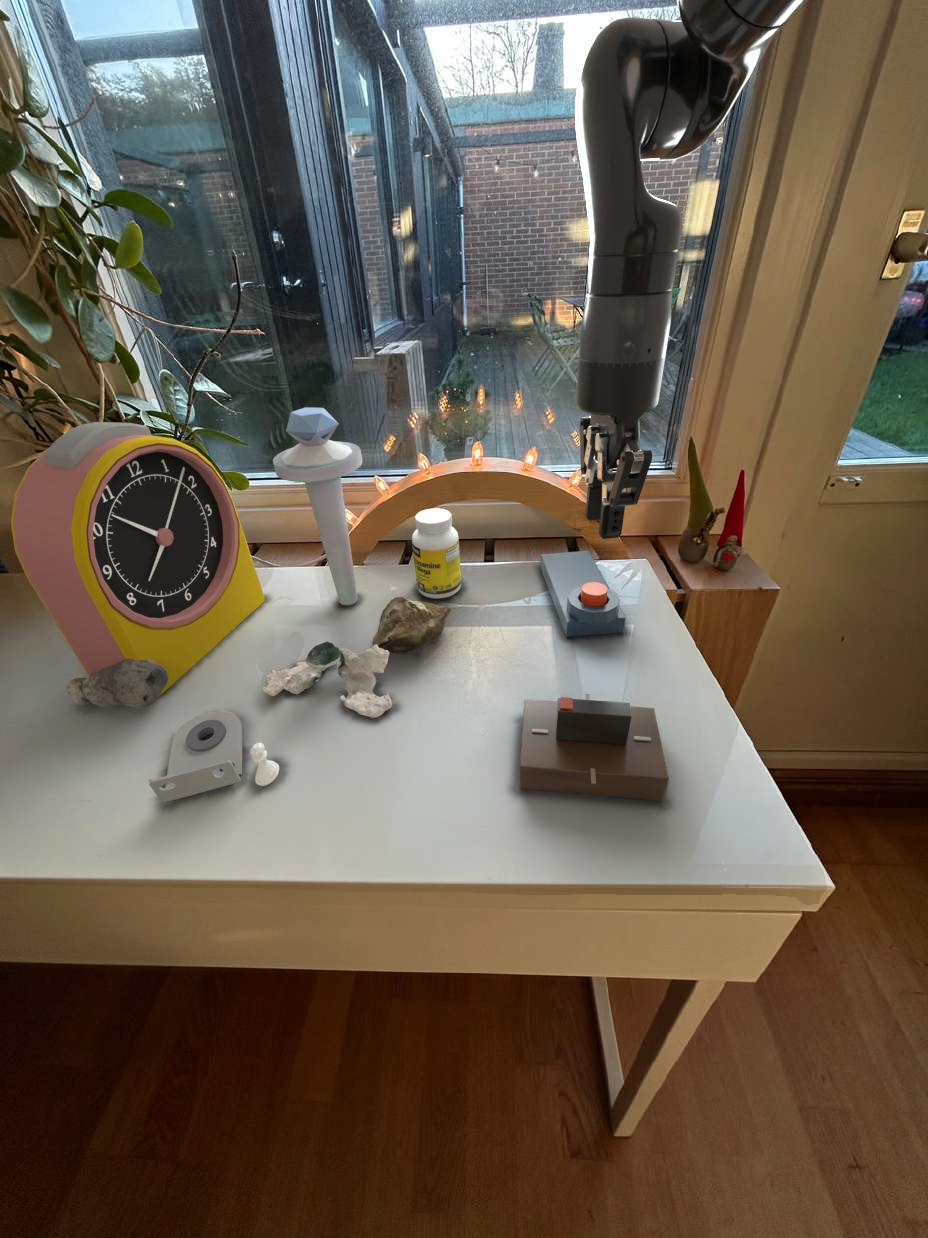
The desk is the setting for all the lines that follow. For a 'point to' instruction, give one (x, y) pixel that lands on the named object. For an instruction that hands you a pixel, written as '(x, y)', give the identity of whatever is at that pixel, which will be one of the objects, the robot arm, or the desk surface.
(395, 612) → the fossilized seashell
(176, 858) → the desk surface
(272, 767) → the chess pawn
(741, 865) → the desk surface
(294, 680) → the rock
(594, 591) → the button
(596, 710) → the red-tipped grey bar
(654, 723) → the panel
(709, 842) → the desk surface
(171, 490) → the alarm clock
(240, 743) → the bracket
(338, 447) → the novelty light stick
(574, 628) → the button box
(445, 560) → the pill bottle
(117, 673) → the stone
